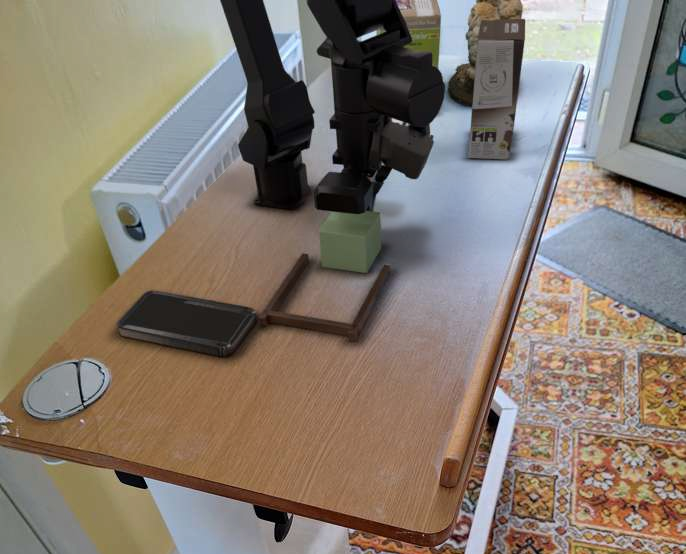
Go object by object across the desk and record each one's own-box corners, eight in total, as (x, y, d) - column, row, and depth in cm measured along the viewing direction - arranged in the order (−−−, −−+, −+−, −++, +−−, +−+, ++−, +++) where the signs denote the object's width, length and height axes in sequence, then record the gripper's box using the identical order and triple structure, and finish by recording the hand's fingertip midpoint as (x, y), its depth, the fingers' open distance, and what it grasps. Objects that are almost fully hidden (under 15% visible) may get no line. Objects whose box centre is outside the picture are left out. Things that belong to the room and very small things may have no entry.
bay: (259, 325, 77) (258, 317, 77) (303, 261, 86) (302, 253, 85) (354, 342, 74) (354, 333, 73) (390, 273, 83) (390, 264, 82)
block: (322, 267, 85) (318, 231, 81) (338, 242, 88) (335, 206, 85) (367, 273, 83) (365, 237, 79) (381, 247, 87) (380, 211, 83)
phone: (227, 350, 73) (112, 326, 77) (229, 358, 74) (115, 334, 78) (258, 308, 78) (148, 288, 82) (260, 316, 78) (151, 295, 83)
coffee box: (510, 160, 100) (525, 39, 88) (467, 159, 102) (476, 39, 90) (512, 134, 106) (527, 17, 94) (471, 133, 108) (480, 17, 95)
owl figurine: (451, 68, 126) (457, -42, 114) (515, 68, 124) (529, -44, 112) (444, 107, 115) (450, -11, 102) (515, 108, 113) (530, -12, 100)
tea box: (438, 114, 113) (442, 12, 102) (378, 117, 114) (376, 17, 103) (431, 80, 123) (434, -15, 112) (377, 84, 124) (374, -11, 113)
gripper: (405, 145, 69) (405, 276, 80) (446, 76, 80) (441, 200, 92) (304, 137, 72) (318, 264, 83) (358, 71, 83) (363, 192, 95)
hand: (364, 228), depth 88 cm, fingers closed
